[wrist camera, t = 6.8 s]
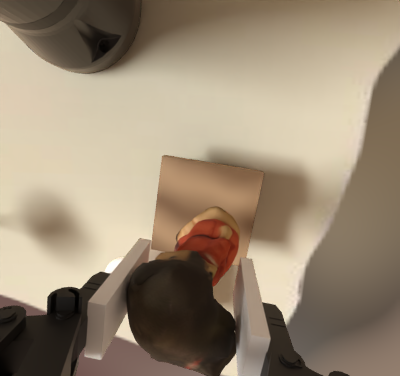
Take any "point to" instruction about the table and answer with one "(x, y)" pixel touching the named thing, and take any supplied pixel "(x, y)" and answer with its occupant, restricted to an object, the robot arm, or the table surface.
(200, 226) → the figurine
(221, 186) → the tan legged square part
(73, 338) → the robot arm
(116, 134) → the table surface
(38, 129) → the table surface
